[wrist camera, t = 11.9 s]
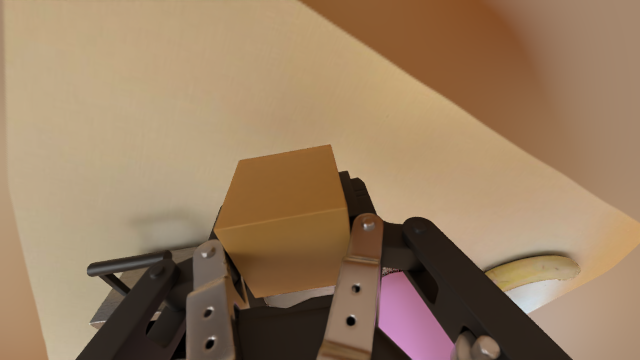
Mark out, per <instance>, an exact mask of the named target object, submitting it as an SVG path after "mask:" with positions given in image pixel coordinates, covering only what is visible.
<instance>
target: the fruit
mask: <svg viewBox="0 0 640 360" xmlns="http://www.w3.org/2000/svg"><path fill="white" fill-rule="evenodd" d="M580 271H581V269H580V267H579V266H578V264H577V263H576V262H574V261H573V260H571V259H569V258H566V257H562V256H537V257H531V258H525V259H521V260H517V261H514V262H510V263H507V264H504V265H501V266H498V267H495V268H493V269H491V270H489V271H487V272H486V273H485V274H486V275H487V276H488V277H489V278H490V279H491V280H492V281H493V282H494V283H495V284H496V285H497V286H498V287H499V288H500V289H501V290H502V291H503V292H505V291H508V290H511V289H513V288H516V287H519V286H522V285H525V284H529V283H533V282H538V281H544V280H552V279H558V280H570V279H573V278H574V277H576V276H577V275H578V274H579V273H580Z"/></svg>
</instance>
